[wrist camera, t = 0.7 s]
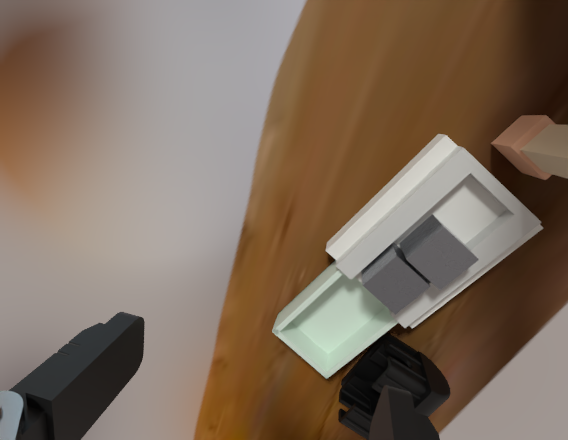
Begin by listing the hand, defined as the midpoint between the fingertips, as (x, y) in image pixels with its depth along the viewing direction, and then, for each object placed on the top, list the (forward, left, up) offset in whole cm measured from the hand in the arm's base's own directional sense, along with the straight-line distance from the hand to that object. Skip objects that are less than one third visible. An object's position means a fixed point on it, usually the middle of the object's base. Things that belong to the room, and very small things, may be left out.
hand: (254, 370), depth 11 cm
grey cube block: (-5, +11, -23) cm, 26 cm away
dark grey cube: (0, +10, -23) cm, 25 cm away
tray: (+8, +10, -26) cm, 29 cm away
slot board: (-5, +10, -26) cm, 28 cm away
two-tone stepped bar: (-16, +10, -26) cm, 32 cm away
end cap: (+10, +20, -26) cm, 34 cm away
